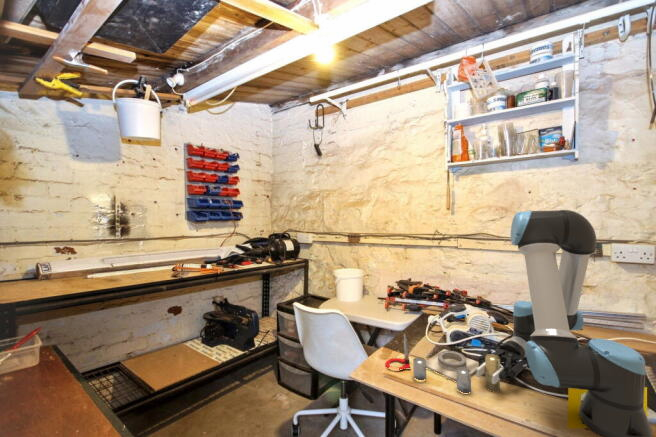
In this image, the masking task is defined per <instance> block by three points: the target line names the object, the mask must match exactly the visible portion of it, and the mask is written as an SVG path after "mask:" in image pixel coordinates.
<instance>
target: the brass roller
mask: <svg viewBox="0 0 656 437" xmlns="http://www.w3.org/2000/svg"><path fill="white" fill-rule="evenodd" d="M500 368H501V363H500V357H499V356H497V355H495V354H487V355H486V356H485V373H484V374H485V388H487V389H486V390H488V389H489V390H491V391H490V392H492V391H494V392H493V393H499V392H500V390H501V379H499V380H498V381H497V382H496V383H495V384H493V383H492V375H493V374H494V373H495V372H496V371H497V370H498V369H500ZM489 390H488V391H489ZM498 391H499V392H498Z"/></svg>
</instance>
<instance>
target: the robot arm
mask: <svg viewBox="0 0 656 437" xmlns="http://www.w3.org/2000/svg"><path fill="white" fill-rule="evenodd" d="M597 240H598V239H597V236H596V231H595V229H594V227H593V225H592V224H591V222H590V220H588V219H587V218H586V217H585V216H584V215H582V214H580V213H579V212H576V211H574V210H569V209H560V210H557V209H556V210H526V211H525V210H524V211H518V212H516V213H515V214H514V216H513V218H512V221H511V226H510V242H511V244H512V246H515V247H516V246H517V249H518V253H520V254H522V255H523V256H524V261H525V268H526V269H525V270H526V276H527V281H528V288H529V296H530V301H527V300H517V301H515V302H514V304H513V312H512V315H513V316H512V317H513V332H512V333H513V334H512V336H511V337H510V338H509V339H508V340H506V341H505V342H504V343H502V344H501V345H500V347H499V349H496V350H494V349H492V348H491V347H487V349H486V351H485V352H483V353H482V354H481V355H480V356H478V362H479V367H478V368H477V372H476V377H477V378H480V377H481V376H483V375H484V374H485V356H486V355H487V354H494V355H497V356H499V357H500V364H501V363H504V366H503V367H500V369H498V370H497V371H496V372H495V373H494V374H493V375H492V383H493V384H495V383H496V382H497V381H498V380H499V379H500V380H504V379H505V378H507V377H508V376H509V377H510V378H511V379H515V378H516V376H518V375H519V374H520V373H521V372H522V371H523V370H526V369H528V368H529V370H530V372H531V374H532V376H533V378H534V379H535V380H536V381H537V382H538V383H539V384H541V385H544V386H550V387H554V388H566V389H575V390H583V391H587V392H586V394H585V395H584V397H583V399H582V401H581V403H580V405H579V417H580V416H581V418H582V420H583V421H582V420H581V421H582V422H583V424H584V425H586V427H587V428H589V429H590V430H591V431H593V432H595V433H596V434H597V435H599V436H601V437H653V436H652V434H653V433H652V427H651V424H650V421H649V418H648V417H647V414H646V413H647V412H646V411H645V408H644V404H645V403H644V402H645V387H646V386H645V385H646V375H647V370H646V360H645V359H644V357H643V355H642V354H641V353H640V352H638V351H637V350H635V349H634V348H631V347H630V346H627V345H625V344H623V343H620V342H617V341H614V340H609V339H605V338H597V337H596V338H595V337H594V338H591V339H590V340H589V341H588V342H587V344H588V345H580V344H579V339H578V337H577V336H576V335H575V334H573V333H572V332H571V331H581V330H582V329H583V328H584V316H583V314H582V312H581V311H580V310H578V309H579V303H580V300H581V295H582V291H583V287H584V284H585V278H586V274H587V271H588V270H587V269H588V267H589V266H588V265H589V260H590V257H591V255H593V254H595V252H596V248H597ZM559 250H561V256H560V261H559V264H558V262H557V261H558V259H557V255H556V254H557V252H558V251H559ZM558 265H559V266H558ZM525 358H526V359H525ZM513 365H514V366H513ZM581 418H580V419H581Z"/></svg>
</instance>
